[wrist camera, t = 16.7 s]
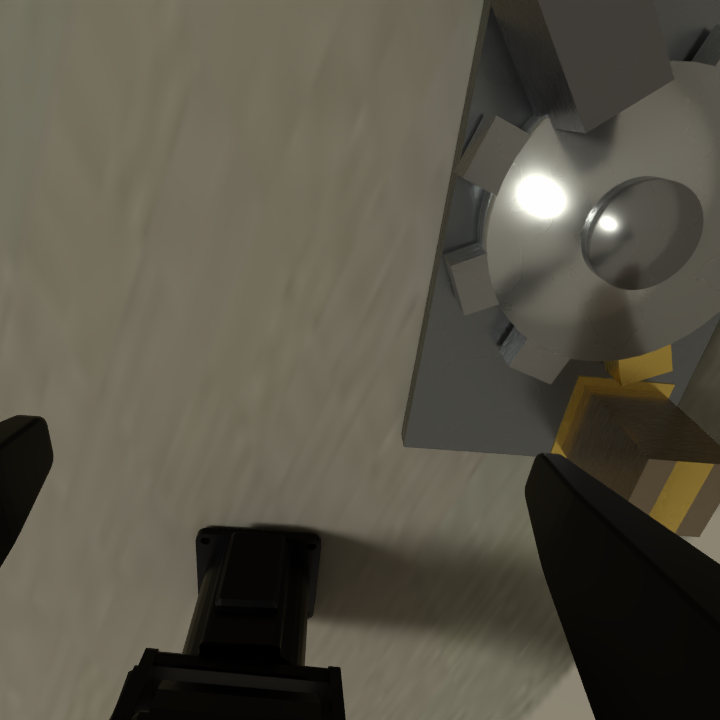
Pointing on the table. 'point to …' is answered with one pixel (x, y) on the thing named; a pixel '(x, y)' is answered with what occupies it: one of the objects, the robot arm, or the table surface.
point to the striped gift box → (647, 455)
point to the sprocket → (597, 192)
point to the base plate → (491, 326)
